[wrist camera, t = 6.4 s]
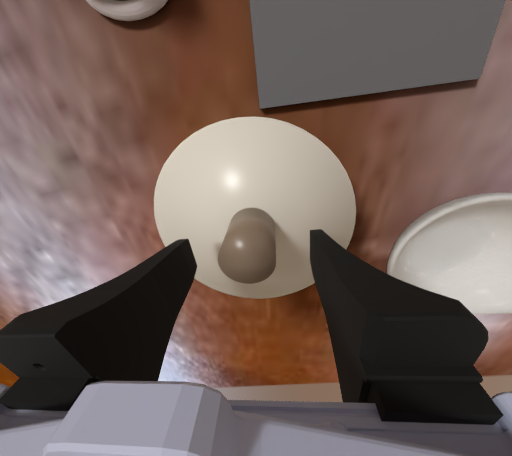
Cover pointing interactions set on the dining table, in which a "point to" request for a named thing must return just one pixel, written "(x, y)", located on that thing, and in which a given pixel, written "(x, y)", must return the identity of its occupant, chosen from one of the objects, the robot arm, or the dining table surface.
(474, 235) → the spoon rest
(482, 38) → the mat
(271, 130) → the lid
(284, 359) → the dining table surface
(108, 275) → the dining table surface
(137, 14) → the pacifier
